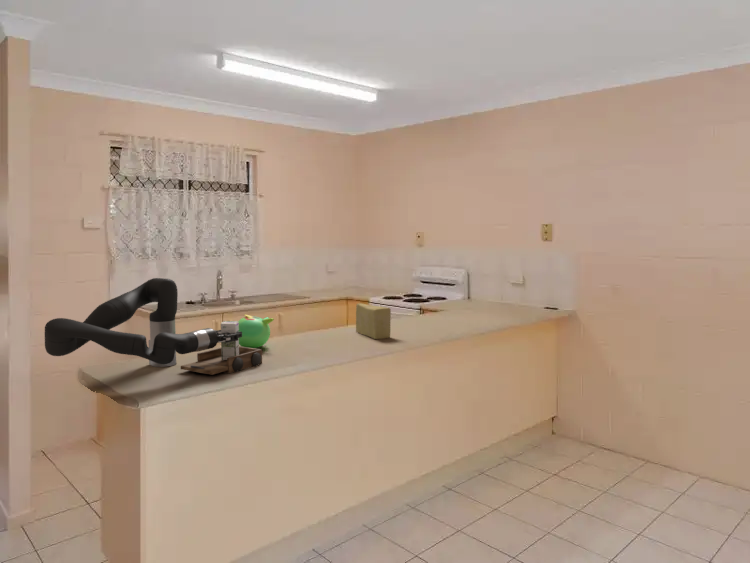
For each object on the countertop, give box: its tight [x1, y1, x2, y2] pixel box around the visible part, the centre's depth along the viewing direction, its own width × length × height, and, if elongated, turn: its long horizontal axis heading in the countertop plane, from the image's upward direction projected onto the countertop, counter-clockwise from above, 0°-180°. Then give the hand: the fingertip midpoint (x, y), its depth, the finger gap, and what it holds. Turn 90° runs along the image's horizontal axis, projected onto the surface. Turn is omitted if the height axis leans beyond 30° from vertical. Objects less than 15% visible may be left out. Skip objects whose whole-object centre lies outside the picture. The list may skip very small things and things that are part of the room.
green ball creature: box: [237, 314, 275, 349], centre depth 253 cm, size 18×17×15 cm
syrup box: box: [220, 320, 240, 361], centre depth 220 cm, size 6×6×14 cm
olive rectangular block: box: [355, 302, 392, 340], centre depth 284 cm, size 22×10×15 cm, turn 37°
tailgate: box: [180, 361, 228, 376], centre depth 209 cm, size 16×8×2 cm, turn 60°
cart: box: [196, 345, 263, 374], centre depth 220 cm, size 18×18×6 cm
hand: (233, 333), depth 221 cm, fingers open, 8 cm apart
